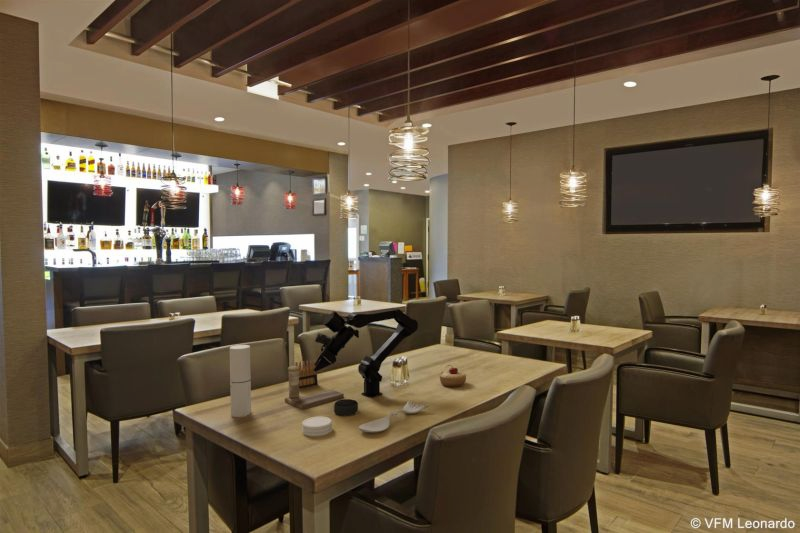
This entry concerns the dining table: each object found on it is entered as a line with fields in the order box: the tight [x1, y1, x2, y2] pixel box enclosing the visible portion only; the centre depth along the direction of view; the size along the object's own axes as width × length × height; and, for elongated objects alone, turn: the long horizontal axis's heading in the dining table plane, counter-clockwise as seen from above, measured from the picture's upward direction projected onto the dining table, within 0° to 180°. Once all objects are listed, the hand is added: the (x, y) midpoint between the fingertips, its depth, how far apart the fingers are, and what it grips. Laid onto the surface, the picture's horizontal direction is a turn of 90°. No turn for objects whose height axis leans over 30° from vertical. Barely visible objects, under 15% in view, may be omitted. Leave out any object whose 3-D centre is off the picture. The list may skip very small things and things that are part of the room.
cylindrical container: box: [229, 344, 252, 418], centre depth 176 cm, size 7×7×25 cm
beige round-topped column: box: [284, 365, 305, 405], centre depth 189 cm, size 5×6×14 cm
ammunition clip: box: [294, 358, 319, 390], centre depth 210 cm, size 11×2×12 cm, turn 129°
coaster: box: [301, 416, 333, 437], centre depth 160 cm, size 10×10×4 cm
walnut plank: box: [290, 389, 345, 410], centre depth 190 cm, size 8×20×2 cm, turn 135°
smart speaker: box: [333, 398, 359, 417], centre depth 177 cm, size 9×9×4 cm
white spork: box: [358, 399, 429, 434], centre depth 168 cm, size 9×32×4 cm, turn 143°
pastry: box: [439, 364, 467, 388], centre depth 213 cm, size 12×12×9 cm
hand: (314, 368), depth 191 cm, fingers open, 9 cm apart
